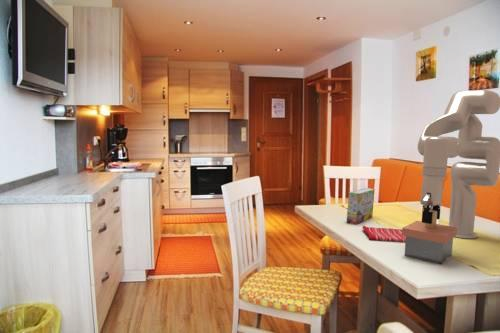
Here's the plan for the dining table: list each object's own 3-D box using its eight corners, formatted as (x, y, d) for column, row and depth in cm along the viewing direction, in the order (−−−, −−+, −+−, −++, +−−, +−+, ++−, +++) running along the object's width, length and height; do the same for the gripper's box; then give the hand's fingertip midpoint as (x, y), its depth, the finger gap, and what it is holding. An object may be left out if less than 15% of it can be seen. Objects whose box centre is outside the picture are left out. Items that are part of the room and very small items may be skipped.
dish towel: (361, 230, 170) (361, 225, 170) (416, 234, 167) (417, 228, 167) (368, 241, 153) (368, 235, 153) (430, 245, 150) (430, 239, 150)
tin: (417, 247, 146) (418, 224, 145) (451, 254, 138) (453, 230, 137) (404, 255, 135) (406, 230, 134) (441, 264, 127) (443, 237, 126)
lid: (416, 227, 146) (417, 205, 145) (457, 234, 137) (459, 210, 136) (401, 235, 134) (403, 211, 133) (445, 243, 125) (447, 217, 124)
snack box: (357, 225, 178) (359, 193, 177) (346, 223, 182) (347, 191, 180) (373, 217, 195) (375, 188, 194) (362, 216, 199) (364, 187, 197)
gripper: (430, 170, 143) (426, 215, 144) (415, 173, 129) (411, 223, 131) (452, 171, 138) (448, 218, 139) (439, 175, 125) (435, 227, 126)
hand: (430, 220), depth 135 cm, fingers open, 9 cm apart
